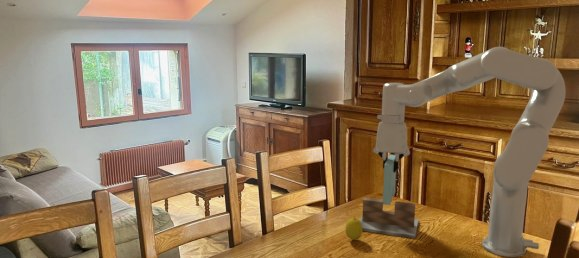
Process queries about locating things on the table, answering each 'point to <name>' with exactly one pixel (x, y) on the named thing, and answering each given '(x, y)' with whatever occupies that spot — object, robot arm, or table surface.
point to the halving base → (390, 229)
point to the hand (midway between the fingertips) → (390, 170)
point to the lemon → (353, 228)
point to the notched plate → (389, 180)
